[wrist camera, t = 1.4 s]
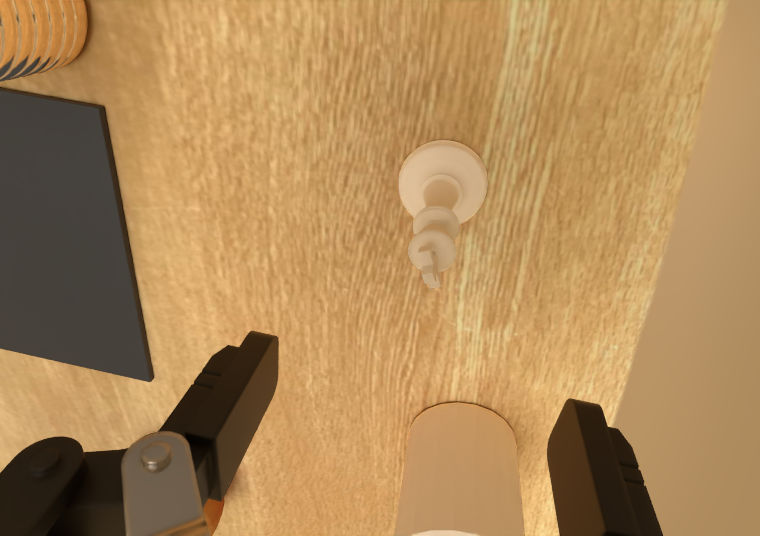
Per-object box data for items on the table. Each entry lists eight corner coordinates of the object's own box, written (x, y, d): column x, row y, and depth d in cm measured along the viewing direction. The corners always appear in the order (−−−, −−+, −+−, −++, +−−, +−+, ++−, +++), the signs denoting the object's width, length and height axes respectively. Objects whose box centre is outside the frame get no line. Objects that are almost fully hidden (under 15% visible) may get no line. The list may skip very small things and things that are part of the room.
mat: (-143, 62, 28) (-152, 63, 28) (104, 105, 27) (98, 107, 27) (-23, 338, 40) (-28, 342, 40) (154, 378, 39) (150, 382, 38)
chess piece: (413, 232, 28) (388, 339, 20) (386, 154, 26) (345, 236, 17) (496, 212, 26) (508, 318, 18) (475, 127, 24) (477, 203, 16)
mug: (380, 477, 40) (356, 604, 32) (432, 386, 34) (419, 516, 26) (466, 509, 41) (465, 643, 32) (535, 425, 34) (554, 566, 26)
